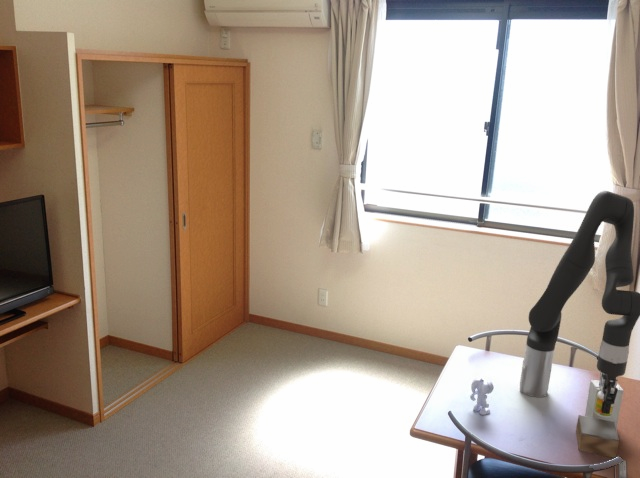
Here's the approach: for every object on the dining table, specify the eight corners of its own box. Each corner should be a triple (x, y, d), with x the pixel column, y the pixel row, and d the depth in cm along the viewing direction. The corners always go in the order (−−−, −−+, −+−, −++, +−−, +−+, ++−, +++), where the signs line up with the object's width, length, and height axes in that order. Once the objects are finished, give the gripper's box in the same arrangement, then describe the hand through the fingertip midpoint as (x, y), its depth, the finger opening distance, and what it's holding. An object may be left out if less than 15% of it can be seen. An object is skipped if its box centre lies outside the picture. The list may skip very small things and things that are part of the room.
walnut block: (578, 450, 176) (581, 432, 174) (575, 431, 185) (578, 415, 184) (615, 458, 173) (619, 440, 171) (610, 438, 182) (614, 421, 181)
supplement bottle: (591, 409, 178) (595, 384, 176) (605, 409, 179) (610, 384, 177) (599, 418, 174) (604, 392, 172) (614, 417, 174) (619, 392, 172)
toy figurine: (495, 413, 194) (499, 380, 190) (482, 419, 190) (487, 385, 187) (478, 403, 199) (482, 371, 196) (465, 409, 195) (469, 376, 192)
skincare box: (609, 421, 192) (617, 380, 188) (616, 432, 186) (625, 390, 182) (582, 419, 192) (590, 378, 188) (589, 430, 186) (597, 388, 182)
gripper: (595, 343, 179) (587, 394, 184) (602, 364, 166) (593, 418, 170) (622, 347, 177) (613, 398, 182) (632, 369, 164) (621, 423, 168)
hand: (603, 408), depth 176 cm, fingers closed on supplement bottle, 4 cm apart
